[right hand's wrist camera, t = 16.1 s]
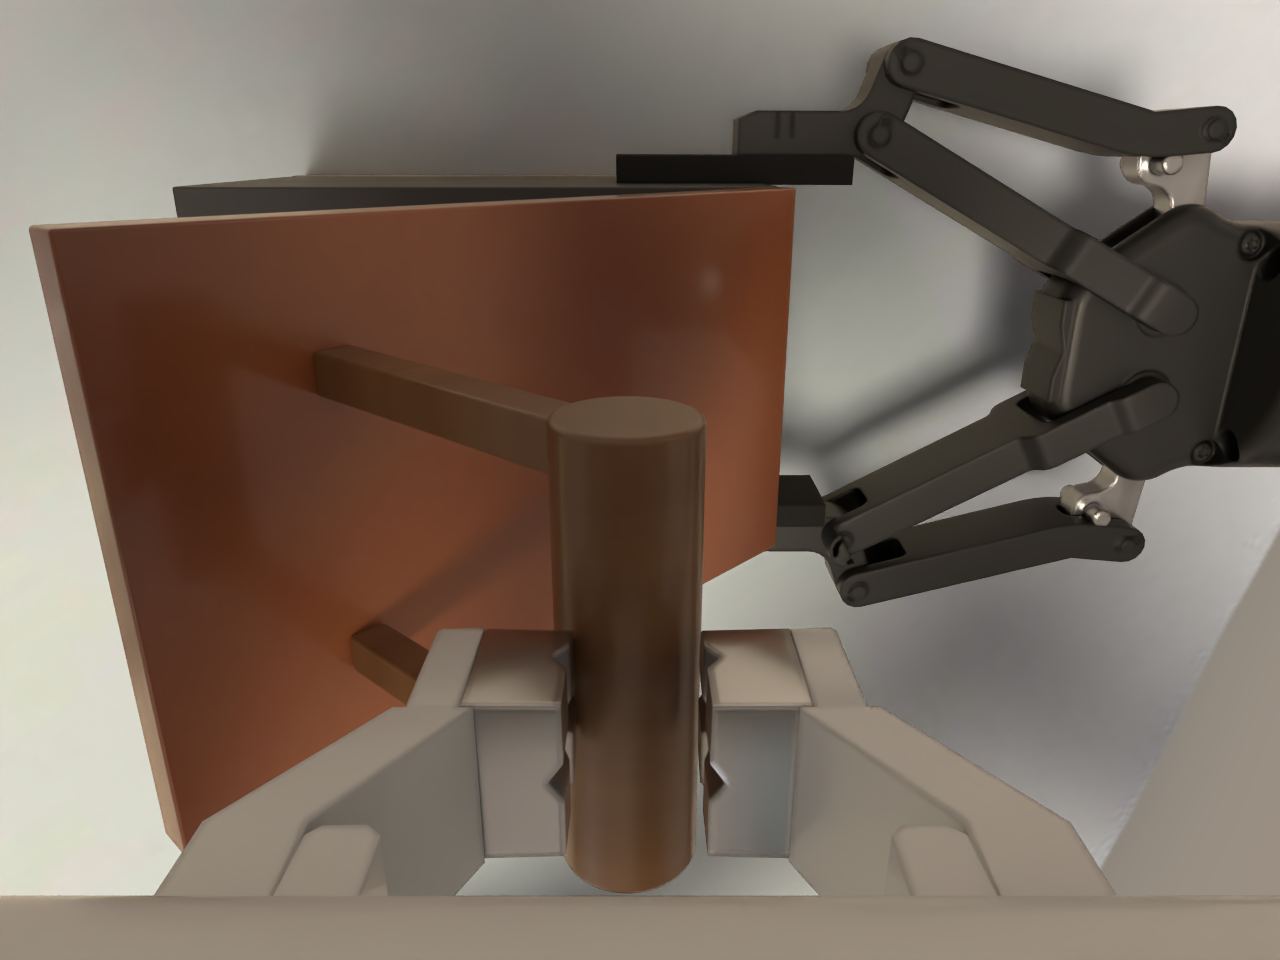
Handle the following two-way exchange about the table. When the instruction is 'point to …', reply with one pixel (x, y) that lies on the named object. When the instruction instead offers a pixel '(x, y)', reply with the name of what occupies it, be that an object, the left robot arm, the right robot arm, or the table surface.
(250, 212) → the chest
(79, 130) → the table surface
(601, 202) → the lid
